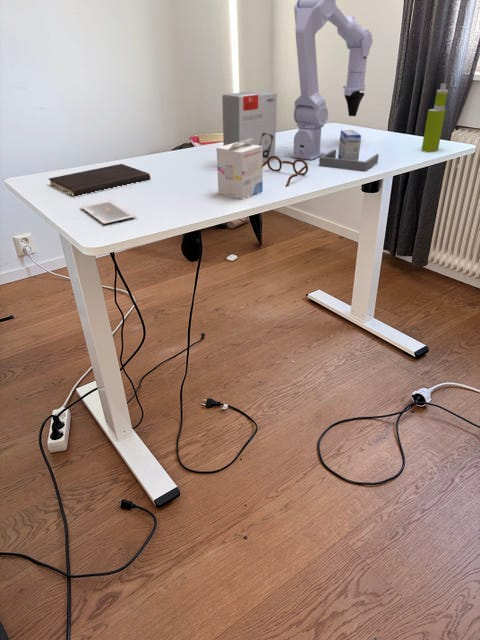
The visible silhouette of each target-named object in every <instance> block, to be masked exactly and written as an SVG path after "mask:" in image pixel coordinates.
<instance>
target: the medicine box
mask: <svg viewBox="0 0 480 640" xmlns="http://www.w3.org/2000/svg"><path fill="white" fill-rule="evenodd" d="M361 141H362V135H361V134H360V133H358V132H357V131H356V130H354V129H341V130H340V136H339V144H338V156H337V159H345V160H354V161H359V159H360V150H361Z"/></svg>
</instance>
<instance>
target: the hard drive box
mask: <svg viewBox="0 0 480 640" xmlns="http://www.w3.org/2000/svg"><path fill="white" fill-rule="evenodd" d="M277 97H278V92H274V91H269V90H268V91H267V90H254V91H245V92H233V93H228V94H227V93H225V94H222V96H221V98H222V99H221V100H222V136H223V139H222V140H223V141H222V142H223V145H222V146H225V145H228V144H232V143H236V142H240V141H244V140H247V139H250V138H254V139H253V140H252V141H251V143H250V144H252V145H259V146H263V163H264V162H266V161H267V160H268V158H269V157H271V156H276V134H277V133H276V129H277V128H276V127H277V102H278V99H277ZM243 143H245V142H243ZM275 160H276V159H275V158H271V159H270V161H269V162H271V161H272V162H273V161H275Z"/></svg>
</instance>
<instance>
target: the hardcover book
mask: <svg viewBox="0 0 480 640" xmlns="http://www.w3.org/2000/svg"><path fill="white" fill-rule="evenodd" d="M145 180H147V181H151V174H150V172H146V171H143V170H141V169H138V168H135V167H132V166H129V165H126V164H124V163H123V164H122V163H119V164H113V165H109V166H103V167H100V168H99V167H98V168H94V169H89V170H83V171H79V172H74V173H70V174H65V175H64V174H63V175H59V176H55V177H54V176H53V177H48V181H50V185H51V184H52V185H54V186H56V187H58V188H61V189H63V190H65V191H67V192H69V193H71V194H73V195H74V196H78V195H82V194H86V193H91V192H95V191H99V190H104V189H108V188H113V187H117V186H121V187H123V186H122V185H126V186H128V185H127V184H130V185H132V184H131V183H134V184H137V183H136V182H139V183H142V182H141V181H143V182H146V181H145ZM52 185H51V186H52ZM54 186H53V187H54ZM56 187H55V188H56ZM58 188H57V189H58ZM117 188H118V187H117ZM113 189H114V188H113ZM108 190H109V189H108ZM104 191H105V190H104ZM95 193H96V192H95ZM91 194H92V193H91ZM74 196H73V197H74ZM82 196H83V195H82ZM78 197H79V196H78Z"/></svg>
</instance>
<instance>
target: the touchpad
mask: <svg viewBox="0 0 480 640" xmlns="http://www.w3.org/2000/svg"><path fill="white" fill-rule="evenodd" d="M80 208H81V209H82V210H84V211H85V212H87V213H89V214H90V215H91V216H92V217H93V218H95V219H97V220H98V221H100V222H101V223H102V224H109V223H113V222H118V221H122V220H127V219H130V218H134V217H137V215H136V214H135V213H132V212H130V211H129V210H127V209H126V208H124V207H122V206H121V205H120V204H118V203H116V202H114V201H113V200H111V199H108V200H104V201H103V200H102V201H98V202H94V203H89V204H84V205H80Z"/></svg>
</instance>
